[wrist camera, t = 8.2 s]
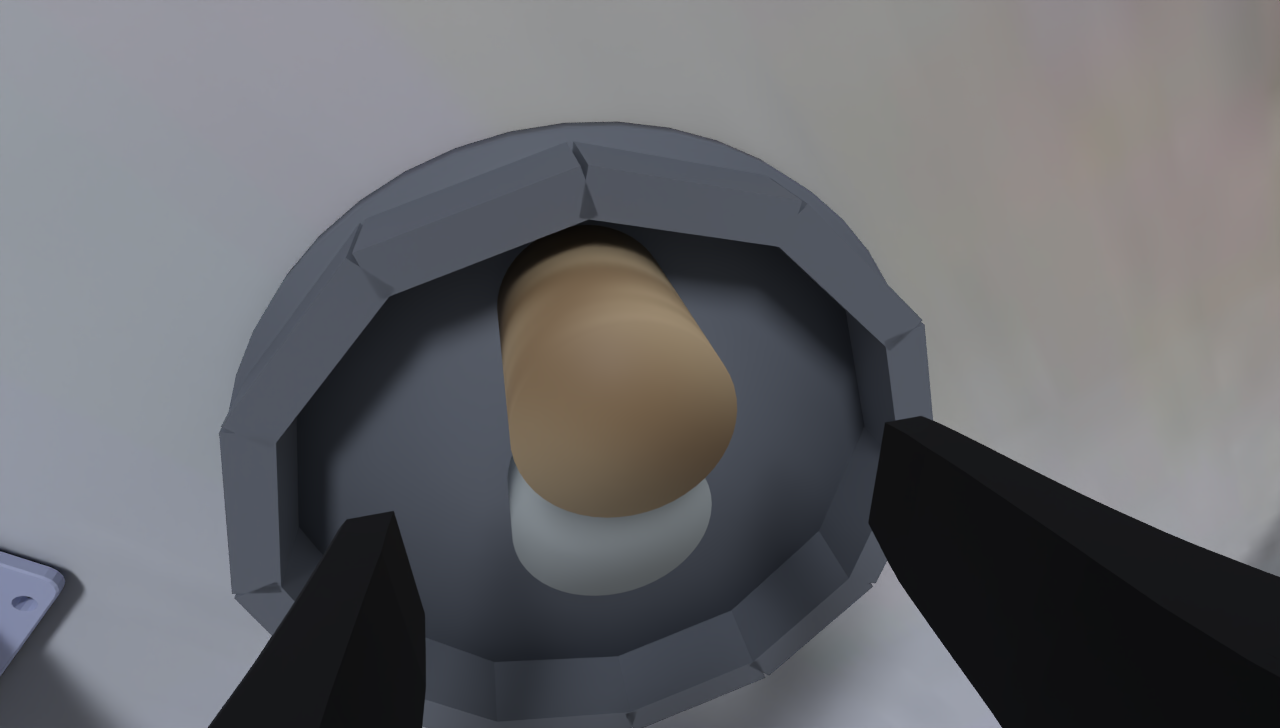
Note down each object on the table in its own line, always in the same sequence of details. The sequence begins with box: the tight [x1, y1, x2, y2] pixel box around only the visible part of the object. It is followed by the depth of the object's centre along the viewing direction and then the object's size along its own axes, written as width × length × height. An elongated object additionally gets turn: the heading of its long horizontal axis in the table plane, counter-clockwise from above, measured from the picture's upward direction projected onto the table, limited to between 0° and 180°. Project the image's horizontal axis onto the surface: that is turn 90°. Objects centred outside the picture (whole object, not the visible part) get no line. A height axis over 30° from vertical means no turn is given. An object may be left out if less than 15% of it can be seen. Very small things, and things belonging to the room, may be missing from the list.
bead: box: [497, 225, 737, 518], centre depth 14 cm, size 4×4×5 cm
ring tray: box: [219, 122, 933, 728], centre depth 18 cm, size 18×18×3 cm
